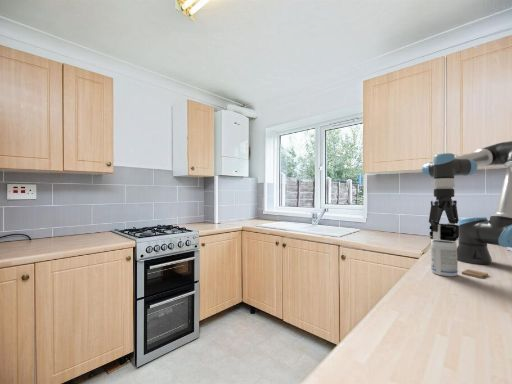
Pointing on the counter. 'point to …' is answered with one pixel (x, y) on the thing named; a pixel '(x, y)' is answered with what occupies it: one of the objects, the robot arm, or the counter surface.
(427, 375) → the counter surface
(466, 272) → the oak coaster
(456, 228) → the end cap
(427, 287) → the counter surface
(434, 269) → the supplement tub
